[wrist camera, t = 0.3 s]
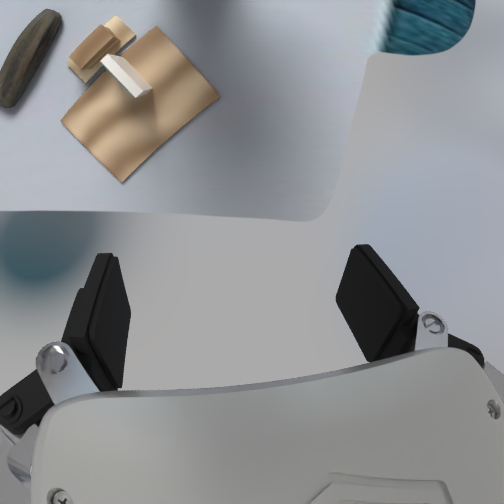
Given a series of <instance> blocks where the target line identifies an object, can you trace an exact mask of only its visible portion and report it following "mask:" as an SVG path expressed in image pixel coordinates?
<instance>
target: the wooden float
mask: <svg viewBox="0 0 504 504" xmlns="http://www.w3.org/2000/svg"><path fill="white" fill-rule="evenodd" d="M135 36H136V35H135V34H134V33H133V32H132V31H131V30H130V29H129V28H128V27H127V26H126V25H125V24H124V23H123V22H122V21H121V20H120V19H119V18H118V17H117V16H116V15H115V16H114V17H113V18H112V19H111V20H110V21H109V22H107V23H106V24H105V25H104V26H103V25H99V26H98V27H97V28H96V29H95V30H94V31H93V32H92V33H91V34H90V35H89V36H88V37H87V38H86V39H85V40H84V41H83V42H82V43H81V44H80V45H79V46H78V47H77V48H76V49H75V51H74V52H73V53H72V54H71V55H70V56H69V58H70V59H71V60H70V61H69V62H68V63H67V65H68V66H69V67H70V68H71V69H72V70H73V71H74V72H75V73H76V74H77V75H78V76H79V77H80V78H81V79H82V80H83V81H84V82H85V83H87V82H88V81H89V80H90V79H91V78H92V77H93V76H94V75H95V74H96V73H97V72H98V71H99V70H100V69H101V68H102V67H103V65H102V64H101V63H102V62H101V60H102V59H103V58H104V57H105V56H106V55H107V54H111V55H115V54H116V53H117V52H118V51H119V50H120V49H121V48H123V47H124V46H125V45H126V44H127V43H128V42H129V41H130V40H132V39H133V38H134V37H135Z"/></svg>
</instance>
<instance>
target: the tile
mask: <svg viewBox="0 0 504 504" xmlns="http://www.w3.org/2000/svg"><path fill="white" fill-rule="evenodd" d="M101 62H102V63H101V64H102V65H103V66H104V67H105V68H106V69H107V70H108V71H109V72H110V73H111V74H112V75H113V76H114V77H115V79H116V80H117V81H118V82H119V83H120V84H121V85H122V86H123V87H124V88H125V89H126V90H127V91H128V92H129V93H130V94H131V95H132V96H133V97H134V98H137V97H140V96H142V95H145V94H147V93H148V92H149V91H150V90H152V89H153V88H152V87H151V86H150V85H149V84H148V83H147V81H146V80H145V79H144V78H143V77H142V76H141V75H140V74H139V73H138V72H137V71H136V70H135V69H134V68H133V67H132V66H131V65H130V64H129V62H128V61H127V60H126V59H125V58H124V57H120V56H116V55H111V54H107V55H106V56H105V57H104V58H103V59H102V60H101Z"/></svg>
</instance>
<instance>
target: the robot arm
mask: <svg viewBox="0 0 504 504" xmlns="http://www.w3.org/2000/svg"><path fill="white" fill-rule="evenodd" d="M336 303H337V305H338V307H339V309H340V310H341V312H342V314H343V316H344V318H345V320H346V322H347V324H348V325H349V327H350V329H351V331H352V333H353V335H354V337H355V339H356V341H357V342H358V345H359V347H360V349H361V350H362V352H363V354H364V356H365V358H366V360H367V361H368V362H370V363H367V364H362V365H358V366H354V367H349V368H345V369H340V370H336V371H331V372H326V373H321V374H315V375H310V376H304V377H298V378H292V379H285V380H279V381H272V382H264V383H256V384H247V385H237V386H228V387H215V388H200V389H178V390H145V391H144V390H137V391H136V390H135V391H134V390H131V391H118V388H122V383H123V372H124V363H125V354H126V346H127V338H128V331H129V324H130V318H131V310H130V306H129V302H128V298H127V294H126V290H125V286H124V282H123V278H122V274H121V269H120V265H119V260H118V258H117V257H114V256H113V254H112V253H99V254H97V256H96V258H95V261H94V263H93V265H92V268H91V271H90V273H89V276H88V278H87V281H86V284H85V286H84V288H80V289H79V291H78V293H77V296H76V298H75V301H74V303H73V307H72V309H71V312H70V315H69V318H68V321H67V324H66V327H65V331H64V334H63V337H62V340H61V342H52V343H50V344H47V345H46V346H44V347H43V348H42V349H41V350H40V351H39V353H38V355H37V358H36V367H37V369H36V370H35V371H34V372H32V373H31V374H30V375H28V376H27V377H25V378H24V379H23V380H21V381H20V382H18V383H17V384H16V385H14V386H13V387H11V388H10V389H9V390H8V391H6V392H5V393H3V394H2V395H1V396H0V504H504V375H503V374H502V373H501V372H500V371H498V370H497V369H496V368H495V367H493V366H492V365H491V364H490V363H489V362H486V363H484V357H483V354H482V353H481V351H480V350H479V348H477V347H476V346H474V345H472V344H470V343H468V342H466V341H464V340H461V339H459V338H457V337H455V336H453V335H451V334H448V328H447V324H446V323H445V321H444V320H443V319H442V318H441V317H440V316H439V315H438V314H436V313H434V312H429V311H425V312H422V313H421V314H420V315H418V313H417V312H418V310H419V306H418V305H417V304H416V302H415V301H414V300H413V298H412V297H411V296H410V294H409V293H408V292H407V290H406V289H405V288H404V287H403V285H402V284H401V283H400V281H399V280H398V279H397V278H396V276H395V275H394V274H393V273H392V271H391V270H390V269H389V268H388V266H387V265H386V264H385V263H384V261H383V260H382V259H381V258H380V257H379V255H378V254H377V253H376V252H375V251H374V250H373V248H372V247H371V246H370V245H368V244H364V245H356V246H355V247H354V248H353V249H351V252H350V255H349V258H348V261H347V264H346V267H345V270H344V273H343V276H342V280H341V282H340V285H339V288H338V292H337V294H336ZM31 465H32V469H31V475H30V468H31Z"/></svg>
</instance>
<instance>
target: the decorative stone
mask: <svg viewBox="0 0 504 504" xmlns="http://www.w3.org/2000/svg"><path fill="white" fill-rule="evenodd" d="M61 18H62V17H61V15H60V14H59V13H58V12H56V11H53V10H50V9H45V10H43V11H42V12H41V13H40V14H39V15H37V16H36V17H35V18H34V19H33V20H32V21H31V22H30V24H29V25H28V26H27V27H26V28H25V29H24V30H23V32H22V33H21V34H20V36H19V37H18V39H17V40H16V42H15V43H14V45H13V47H12V49H11V50H10V52H9V54H8V56H7V58H6V60H5V62H4V64H3V66H2V68H1V71H0V106H3V107H5V108H11V107H13V106H14V105H15V104H16V102H17V101H18V99H19V98H20V96H21V95H22V93H23V92H24V90H25V88H26V87H27V85H28V83H29V82H30V80H31V78H32V77H33V75H34V73H35V71H36V70H37V68H38V66H39V64H40V62H41V61H42V59H43V57H44V55H45V53H46V51H47V49H48V47H49V46H50V44H51V42H52V40H53V38H54V36H55V34H56V32H57V29H58V27H59V25H60V22H61Z"/></svg>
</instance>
